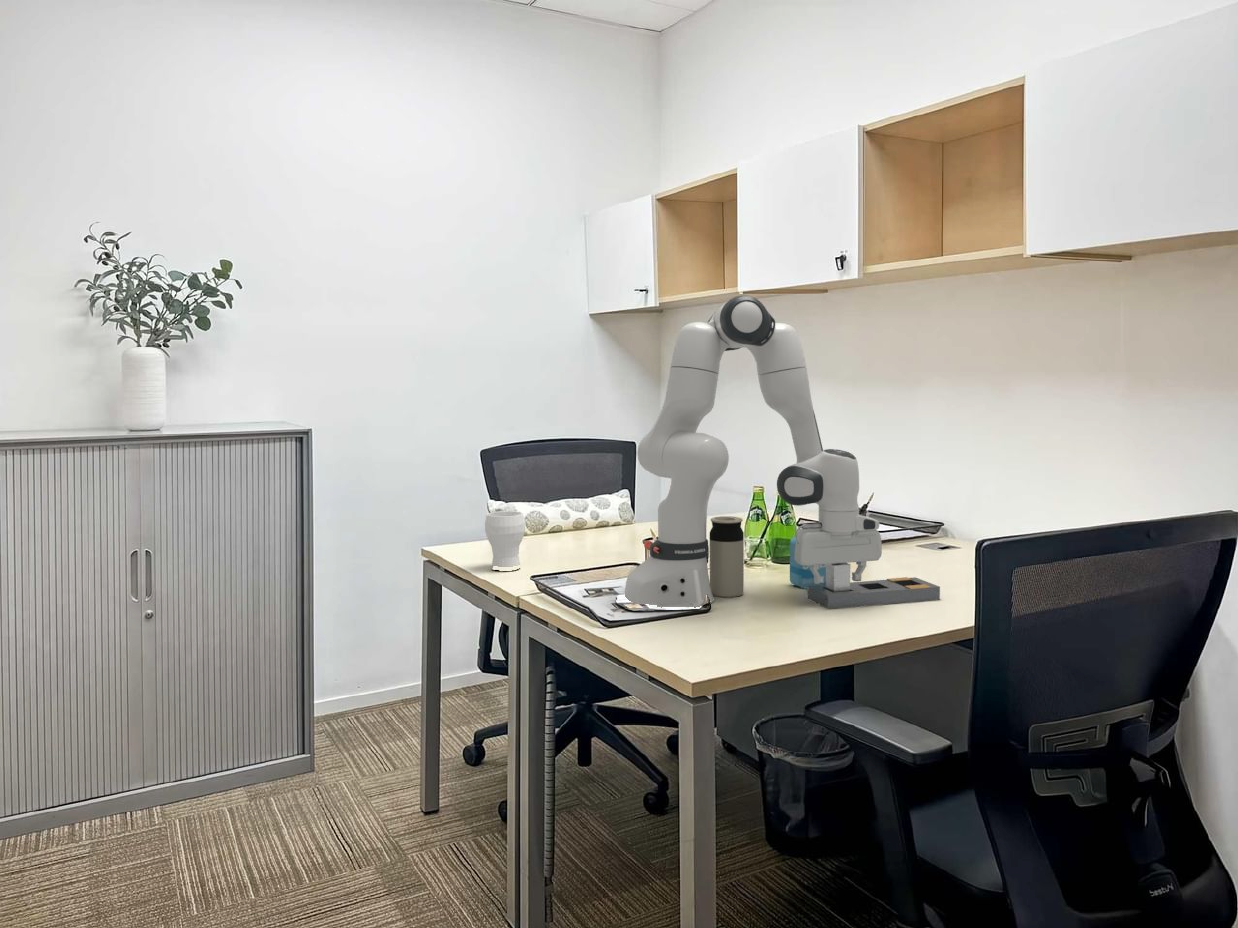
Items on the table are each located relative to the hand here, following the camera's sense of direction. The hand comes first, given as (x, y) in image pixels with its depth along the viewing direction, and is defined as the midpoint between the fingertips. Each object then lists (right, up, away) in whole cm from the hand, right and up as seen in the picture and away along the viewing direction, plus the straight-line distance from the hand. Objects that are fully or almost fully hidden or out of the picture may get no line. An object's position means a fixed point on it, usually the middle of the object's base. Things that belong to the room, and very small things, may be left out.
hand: (837, 582), depth 214 cm
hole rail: (+9, -4, +3) cm, 10 cm away
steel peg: (0, -5, 0) cm, 5 cm away
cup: (-80, -2, +40) cm, 89 cm away
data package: (-1, -3, +18) cm, 18 cm away
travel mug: (-24, -4, +10) cm, 26 cm away
